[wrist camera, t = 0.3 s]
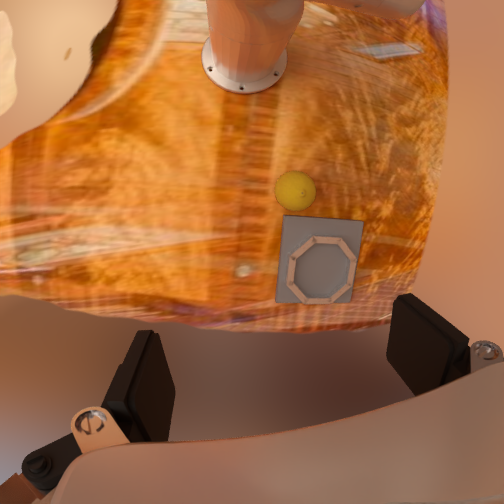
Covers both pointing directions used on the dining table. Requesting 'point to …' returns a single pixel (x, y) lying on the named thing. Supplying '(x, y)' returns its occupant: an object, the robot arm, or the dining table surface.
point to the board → (316, 256)
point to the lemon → (295, 190)
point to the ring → (340, 287)
